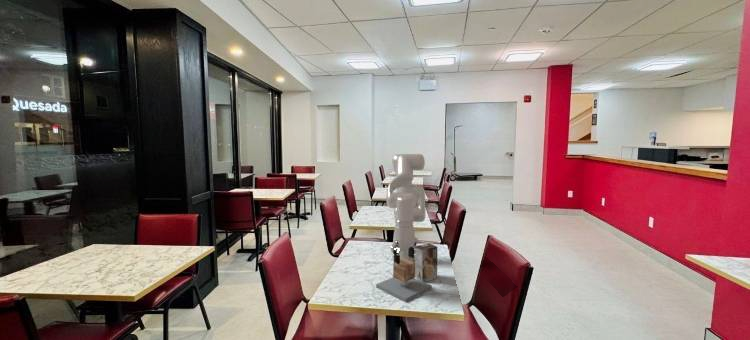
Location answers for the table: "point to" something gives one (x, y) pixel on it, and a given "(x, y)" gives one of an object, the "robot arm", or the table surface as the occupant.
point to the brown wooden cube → (404, 270)
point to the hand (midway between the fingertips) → (404, 260)
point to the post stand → (404, 288)
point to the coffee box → (426, 262)
